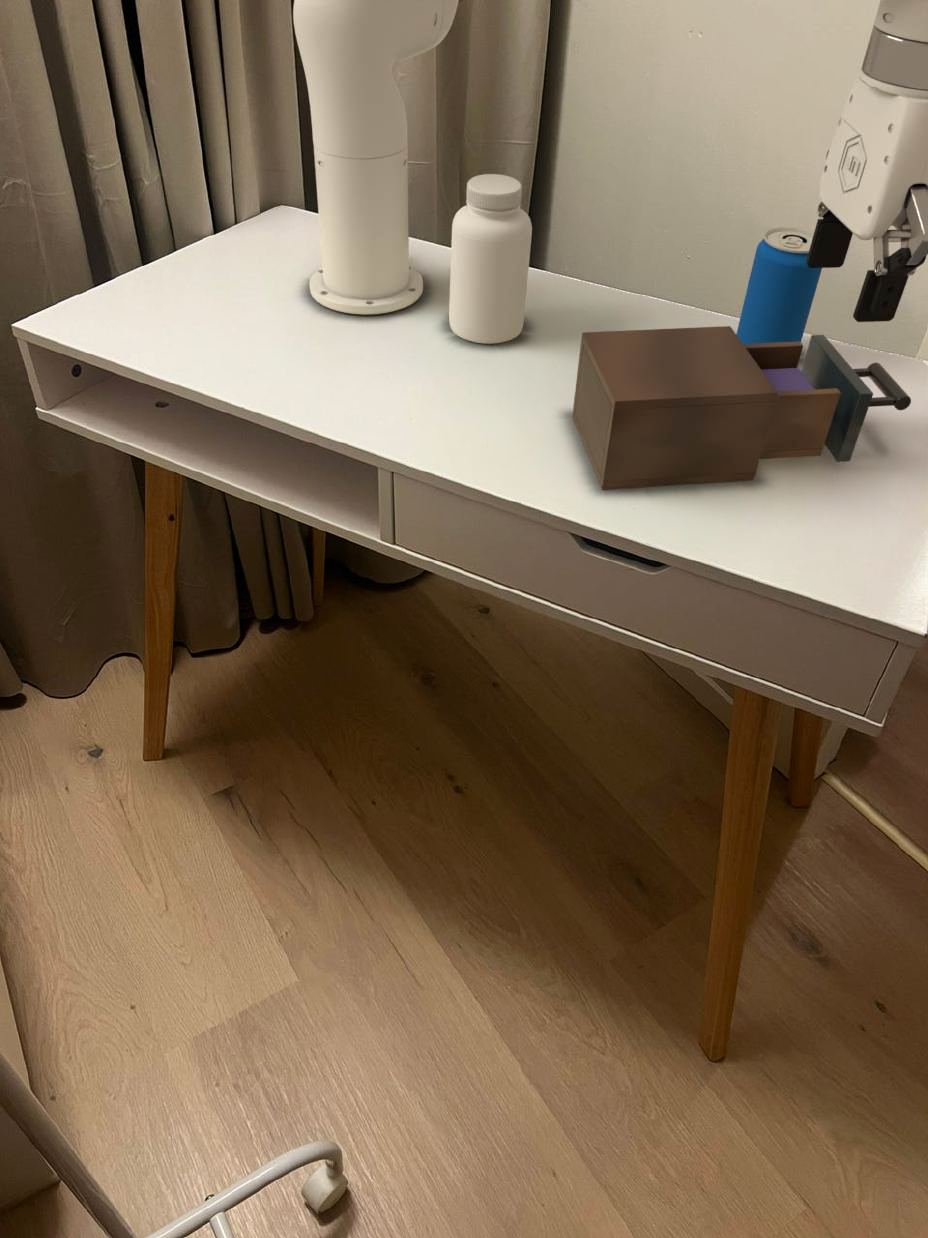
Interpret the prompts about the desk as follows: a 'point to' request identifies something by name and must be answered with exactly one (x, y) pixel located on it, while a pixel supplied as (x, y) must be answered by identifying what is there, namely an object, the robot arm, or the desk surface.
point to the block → (787, 379)
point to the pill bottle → (490, 261)
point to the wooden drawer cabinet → (671, 406)
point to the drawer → (821, 400)
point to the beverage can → (779, 288)
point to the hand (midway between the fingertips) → (846, 291)
